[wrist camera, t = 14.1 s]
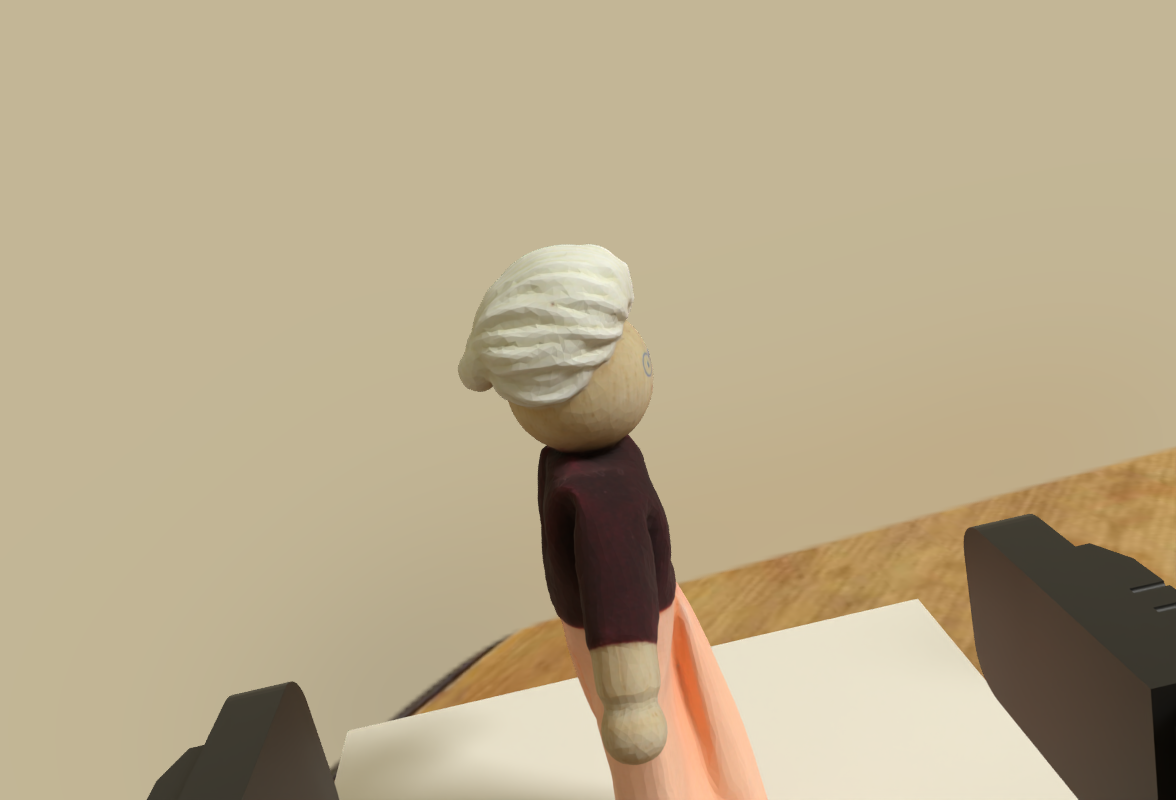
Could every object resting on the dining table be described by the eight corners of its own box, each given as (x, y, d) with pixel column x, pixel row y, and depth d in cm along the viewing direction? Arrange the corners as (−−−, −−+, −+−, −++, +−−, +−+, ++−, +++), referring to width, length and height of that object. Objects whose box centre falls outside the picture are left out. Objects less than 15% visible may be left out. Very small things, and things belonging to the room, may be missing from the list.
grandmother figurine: (867, 962, 18) (744, 237, 14) (660, 1053, 17) (472, 308, 13) (700, 728, 25) (590, 208, 21) (549, 783, 24) (409, 253, 20)
